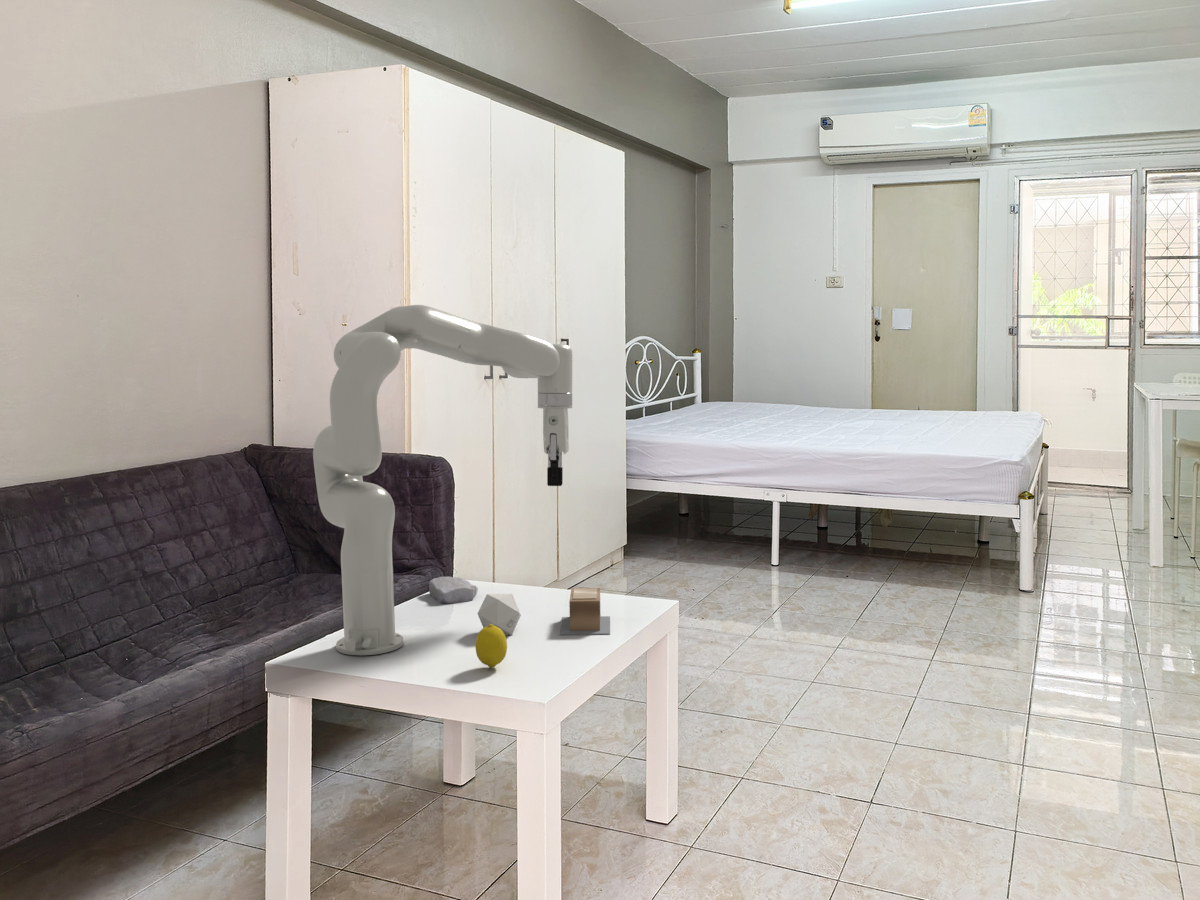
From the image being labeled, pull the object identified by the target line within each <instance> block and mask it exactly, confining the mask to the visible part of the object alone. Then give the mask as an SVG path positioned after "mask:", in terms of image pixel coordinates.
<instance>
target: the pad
mask: <svg viewBox="0 0 1200 900" xmlns="http://www.w3.org/2000/svg"><path fill="white" fill-rule="evenodd" d="M560 623H561V624H560V629H559V636H581V635H582V636H583V635H587V636H588V635H592V636H593V635H594V636H595V635H599V636H600V635H611V616H608V615H607V616H606V615H605V616H600V631H570V616H562V618H561V622H560Z"/></svg>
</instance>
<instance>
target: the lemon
mask: <svg viewBox="0 0 1200 900" xmlns="http://www.w3.org/2000/svg"><path fill="white" fill-rule="evenodd" d="M507 650H508V642H507V637H506V635H505V634H504V633H503V631H502V630H501V629H500V628H498V627H496V626H494V625H493V624H489V625H488V626H487V627H484V628H481V630H480V631H479V632H478V634H477V636H476V638H475V654H476V656H477V658H478V660H479V662H481V663H482V664H483V665H485V666H487V667H489V669H494V668H495V667H496V666H497V665H499V664H500V663H502V662H503V661H504V660H505V658H506V655H507Z"/></svg>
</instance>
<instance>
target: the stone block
mask: <svg viewBox="0 0 1200 900" xmlns="http://www.w3.org/2000/svg"><path fill="white" fill-rule="evenodd" d="M428 585H429V586H428V588H429V589H428V590H429V592H428V593H429V595H430V596H431V597H432V598H434V599H435V600H436V601H437V602H439V603H441V604H444V605H449V604H456V603H463V602H470V601H473V600H474V599H475V597H476V595H477V594H478V591H479V590H478V589H479V587H478V586H476V585H473V584H471V582H469V581H468V580H466V579H465V578H461V577H455V576H439V577H434V578H433V579H430V581H429V584H428Z"/></svg>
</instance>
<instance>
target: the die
mask: <svg viewBox="0 0 1200 900" xmlns="http://www.w3.org/2000/svg"><path fill="white" fill-rule="evenodd" d="M479 607H480V608H479V610H478V611H477V615H478V619H479V621H480V623H481V626H482V627H483V628H484V627H487V626H488V625H489V624H493V625H494V626H496V627H498V628H500V629H501V630H502V631H503V633H504V634H505V636H513V634H514V631H515V629H516V627H517V625H518V623H519V621H520V618H521V616H522V615H521V612H520V610H519V609H520V608H519V607H518V604H517V602H516V600H515V598H514V594H513V593H487V594H486V595H485V597H484V600H482V603H481V605H480V606H479ZM483 628H482V629H483Z"/></svg>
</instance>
